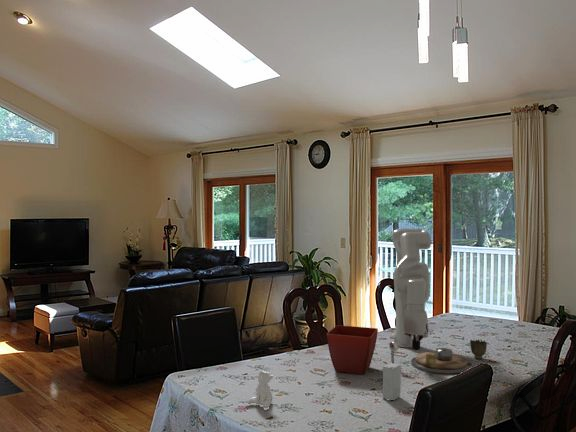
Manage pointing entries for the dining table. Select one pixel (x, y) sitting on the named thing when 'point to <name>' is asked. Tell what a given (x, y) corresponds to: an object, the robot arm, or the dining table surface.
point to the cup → (478, 348)
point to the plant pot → (351, 348)
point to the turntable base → (439, 371)
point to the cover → (443, 354)
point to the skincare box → (391, 381)
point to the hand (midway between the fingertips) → (416, 349)
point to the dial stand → (393, 347)
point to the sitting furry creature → (262, 390)
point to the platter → (431, 361)
